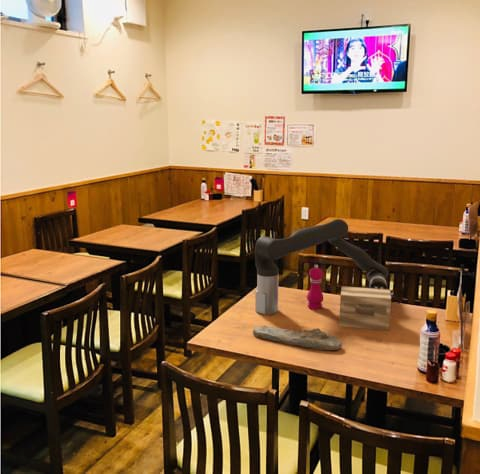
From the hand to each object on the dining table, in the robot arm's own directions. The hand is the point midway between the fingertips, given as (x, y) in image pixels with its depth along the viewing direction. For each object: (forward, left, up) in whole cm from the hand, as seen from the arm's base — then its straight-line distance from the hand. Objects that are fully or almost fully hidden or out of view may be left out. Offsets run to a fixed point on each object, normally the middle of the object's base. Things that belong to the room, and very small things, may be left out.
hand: (379, 298), depth 216 cm
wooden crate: (-11, 0, -8) cm, 13 cm away
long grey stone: (-44, +7, -9) cm, 46 cm away
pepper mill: (-12, +25, -8) cm, 29 cm away
